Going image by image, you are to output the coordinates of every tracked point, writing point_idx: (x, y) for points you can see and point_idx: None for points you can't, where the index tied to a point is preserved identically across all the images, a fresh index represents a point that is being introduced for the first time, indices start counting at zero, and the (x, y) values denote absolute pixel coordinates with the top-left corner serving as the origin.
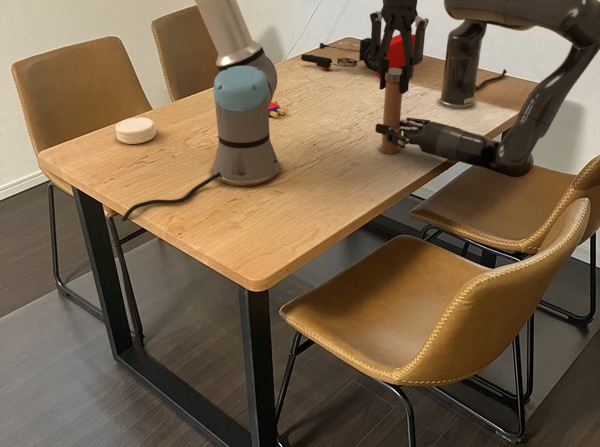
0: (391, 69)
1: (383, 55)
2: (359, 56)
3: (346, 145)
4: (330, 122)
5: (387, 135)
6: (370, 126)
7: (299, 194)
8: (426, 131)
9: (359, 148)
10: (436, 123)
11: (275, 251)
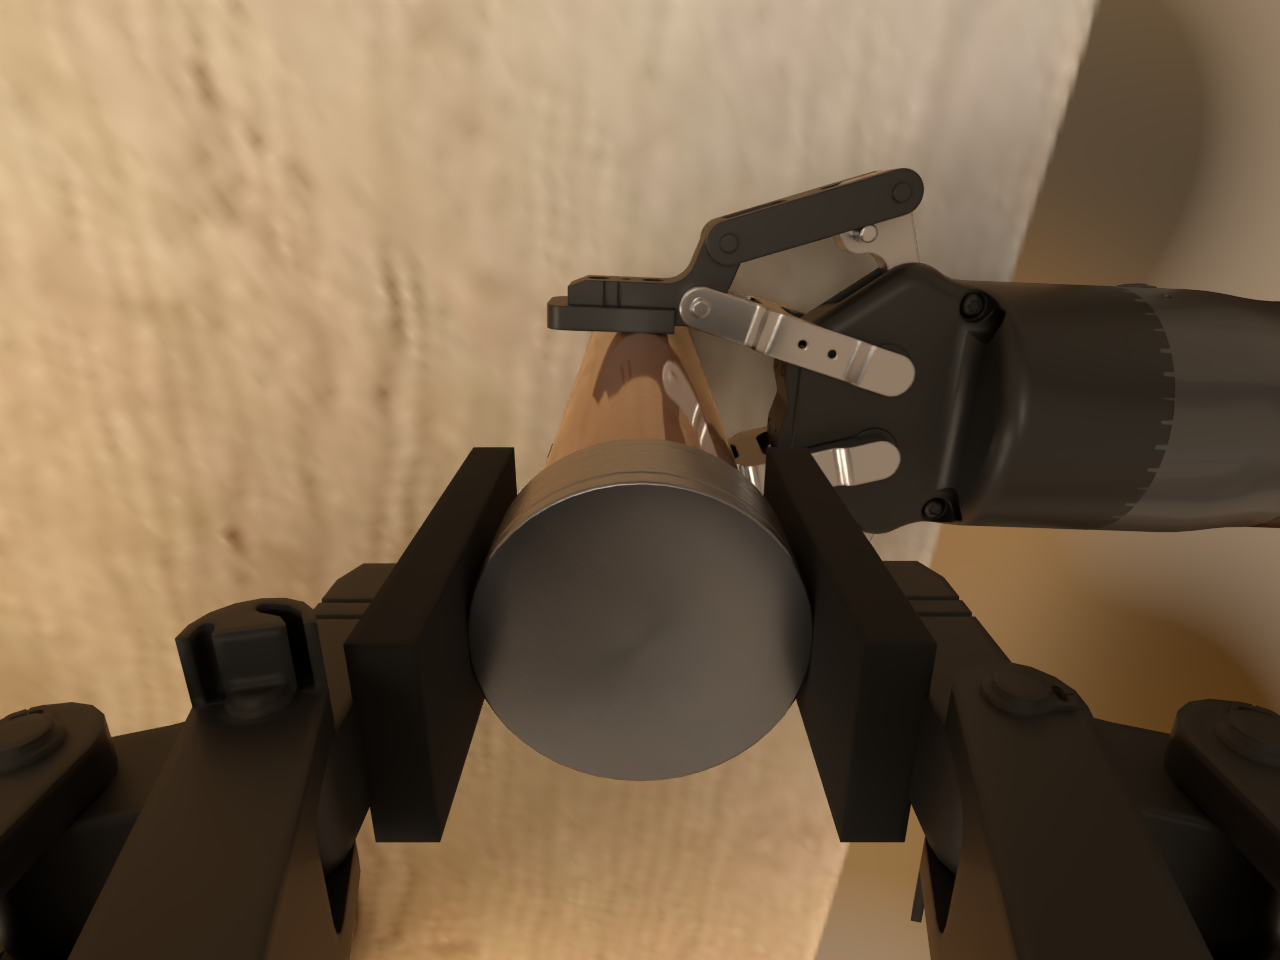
0: (542, 600)
1: (345, 915)
2: None
3: (386, 444)
4: (35, 175)
5: None
6: (312, 60)
7: (531, 925)
8: (1002, 518)
9: (475, 437)
10: (1079, 434)
11: None
